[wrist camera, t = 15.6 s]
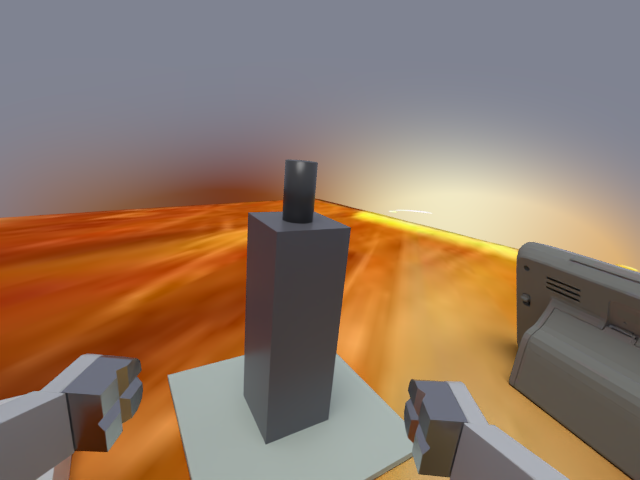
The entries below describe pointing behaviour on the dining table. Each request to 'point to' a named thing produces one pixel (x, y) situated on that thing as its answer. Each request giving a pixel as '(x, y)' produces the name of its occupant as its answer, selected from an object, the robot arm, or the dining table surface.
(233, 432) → the mat
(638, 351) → the digital clock
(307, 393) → the plug
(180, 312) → the dining table surface
